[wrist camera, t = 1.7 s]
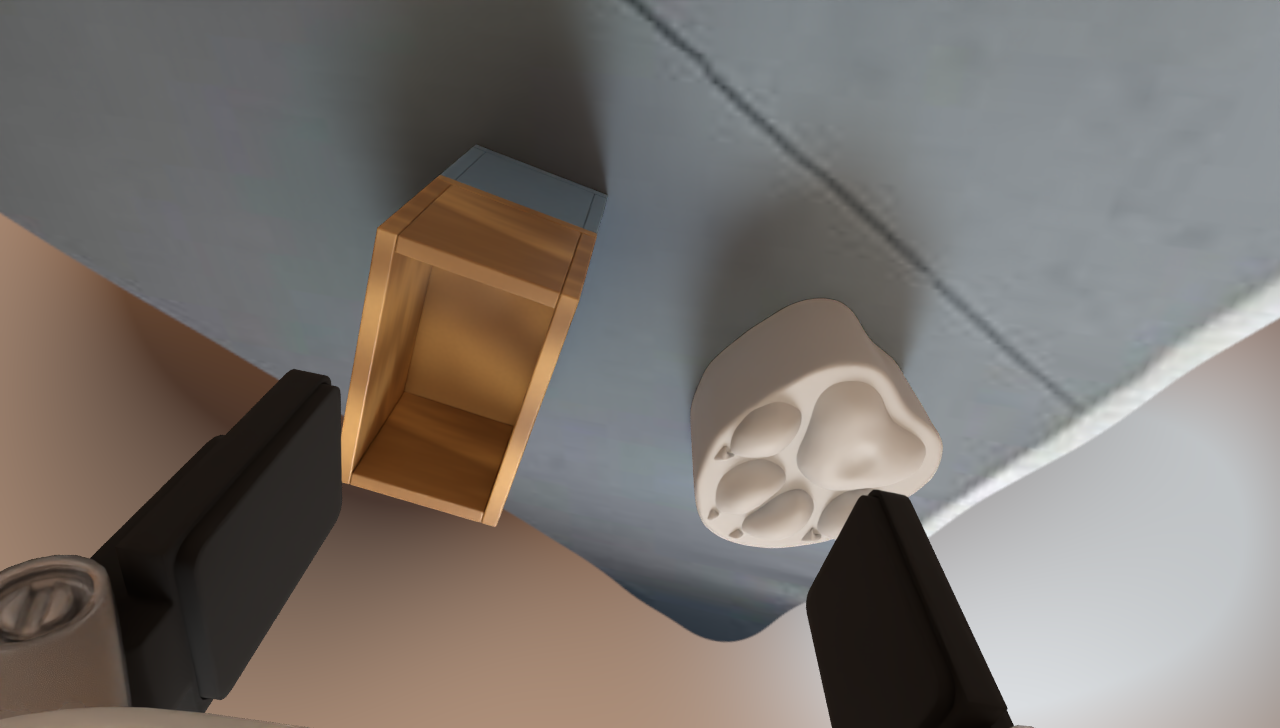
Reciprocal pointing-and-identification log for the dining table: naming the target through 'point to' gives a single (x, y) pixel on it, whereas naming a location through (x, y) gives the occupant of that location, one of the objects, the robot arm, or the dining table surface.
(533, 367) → the wooden basket
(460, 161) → the blue basket
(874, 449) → the lumpy-topped squat cylinder
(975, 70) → the dining table surface
